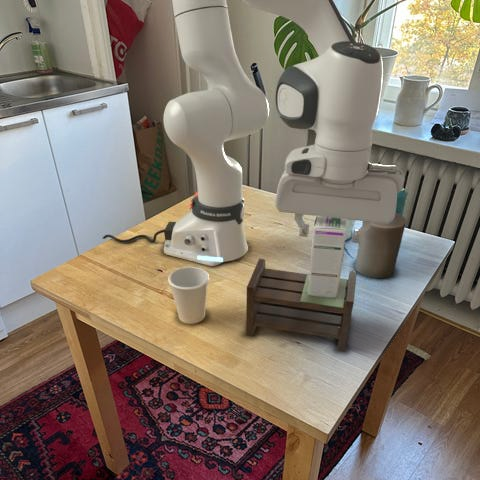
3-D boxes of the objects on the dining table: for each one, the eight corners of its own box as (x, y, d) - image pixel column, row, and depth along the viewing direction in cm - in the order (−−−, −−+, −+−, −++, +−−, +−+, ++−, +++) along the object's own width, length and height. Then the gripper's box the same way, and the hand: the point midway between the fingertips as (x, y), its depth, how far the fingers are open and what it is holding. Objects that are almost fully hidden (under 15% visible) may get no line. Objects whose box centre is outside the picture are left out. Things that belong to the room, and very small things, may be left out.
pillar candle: (402, 271, 112) (416, 215, 103) (373, 283, 108) (386, 226, 99) (373, 255, 119) (385, 201, 110) (346, 265, 115) (355, 210, 105)
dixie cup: (168, 309, 100) (163, 270, 94) (204, 301, 102) (202, 263, 96) (178, 331, 94) (173, 291, 88) (216, 322, 96) (214, 283, 90)
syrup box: (337, 299, 85) (348, 229, 76) (305, 295, 86) (313, 226, 77) (338, 283, 90) (349, 215, 81) (308, 279, 91) (316, 212, 82)
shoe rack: (245, 335, 93) (246, 287, 85) (257, 304, 101) (259, 258, 94) (344, 351, 89) (353, 302, 82) (347, 318, 97) (356, 271, 90)
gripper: (407, 160, 73) (389, 237, 82) (282, 150, 77) (278, 224, 85) (408, 174, 68) (389, 254, 77) (275, 162, 72) (271, 239, 81)
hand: (329, 238), depth 81 cm, fingers open, 8 cm apart
